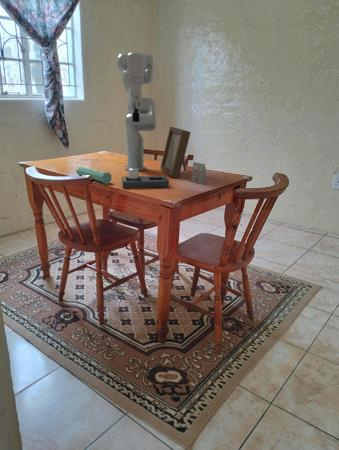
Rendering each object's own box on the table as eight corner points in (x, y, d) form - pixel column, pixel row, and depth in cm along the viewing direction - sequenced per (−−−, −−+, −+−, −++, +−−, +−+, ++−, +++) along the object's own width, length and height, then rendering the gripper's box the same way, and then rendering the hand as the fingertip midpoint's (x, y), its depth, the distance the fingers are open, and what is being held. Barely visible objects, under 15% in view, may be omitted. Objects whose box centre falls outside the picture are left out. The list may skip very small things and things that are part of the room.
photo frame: (171, 178, 190) (172, 130, 181) (160, 170, 209) (160, 126, 200) (197, 176, 194) (199, 130, 185) (183, 169, 213) (185, 126, 205)
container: (73, 174, 188) (100, 182, 171) (76, 164, 187) (103, 170, 171) (82, 177, 192) (110, 185, 176) (85, 167, 192) (113, 173, 175)
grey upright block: (195, 180, 185) (196, 161, 181) (205, 183, 181) (206, 163, 177) (190, 182, 182) (191, 162, 179) (201, 184, 178) (202, 164, 175)
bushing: (128, 184, 175) (127, 167, 172) (138, 183, 176) (137, 167, 173) (128, 186, 170) (128, 169, 167) (139, 186, 171) (139, 169, 168)
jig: (121, 182, 177) (121, 176, 176) (164, 181, 181) (164, 175, 180) (122, 188, 166) (122, 181, 165) (168, 187, 170) (169, 180, 169)
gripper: (126, 81, 174) (127, 120, 180) (128, 80, 160) (129, 122, 167) (141, 82, 175) (141, 120, 182) (145, 81, 162) (145, 122, 168)
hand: (135, 121), depth 174 cm, fingers closed
